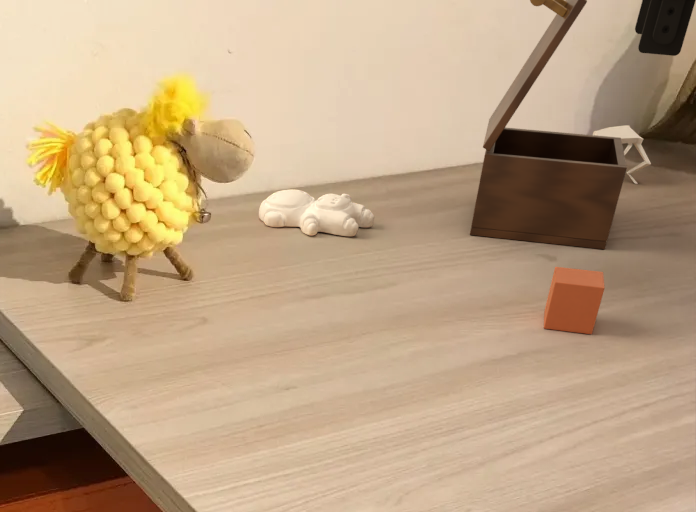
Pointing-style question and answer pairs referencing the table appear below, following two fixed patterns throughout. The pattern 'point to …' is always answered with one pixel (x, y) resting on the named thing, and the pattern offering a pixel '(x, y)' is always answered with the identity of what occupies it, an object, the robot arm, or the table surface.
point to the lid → (533, 64)
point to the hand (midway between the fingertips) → (655, 43)
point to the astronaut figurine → (315, 213)
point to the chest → (550, 188)
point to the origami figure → (627, 137)
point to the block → (573, 300)
